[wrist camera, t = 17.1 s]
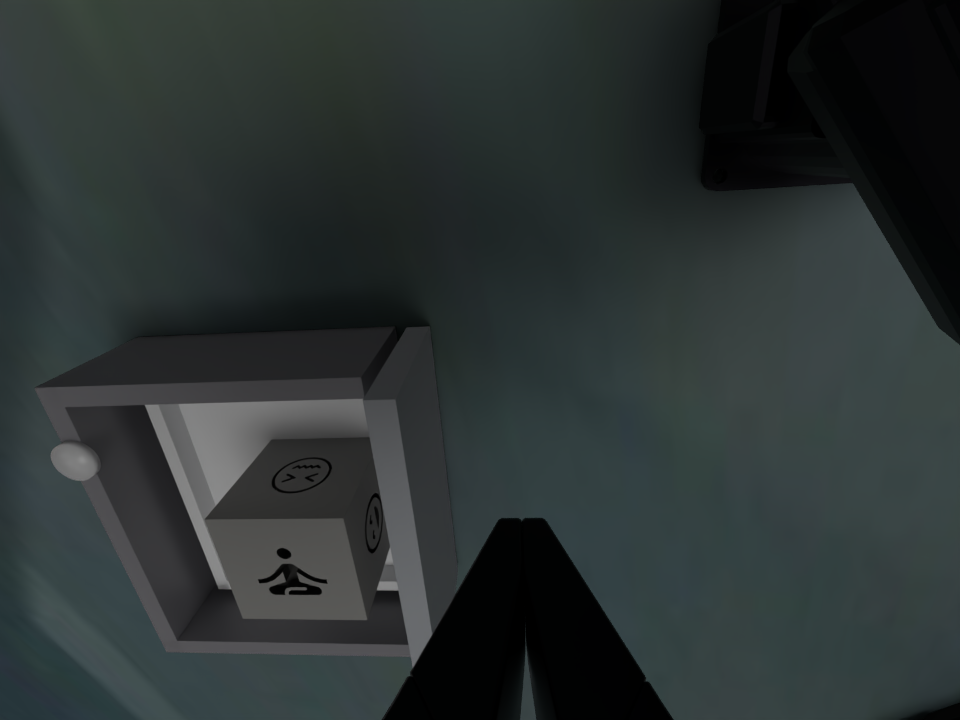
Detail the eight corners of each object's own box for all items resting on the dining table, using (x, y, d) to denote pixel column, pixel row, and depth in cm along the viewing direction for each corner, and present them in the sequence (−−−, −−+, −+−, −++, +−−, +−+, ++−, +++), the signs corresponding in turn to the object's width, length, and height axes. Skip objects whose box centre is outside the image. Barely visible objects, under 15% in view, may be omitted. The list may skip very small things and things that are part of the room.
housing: (395, 326, 20) (358, 381, 15) (430, 567, 26) (411, 663, 21) (129, 337, 21) (15, 392, 16) (219, 566, 27) (154, 658, 22)
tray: (429, 326, 20) (395, 399, 14) (458, 570, 25) (441, 695, 19) (166, 337, 21) (31, 409, 15) (249, 569, 26) (175, 688, 20)
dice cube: (296, 525, 23) (242, 618, 18) (271, 439, 21) (204, 519, 16) (396, 525, 22) (367, 620, 18) (381, 437, 20) (343, 518, 16)
